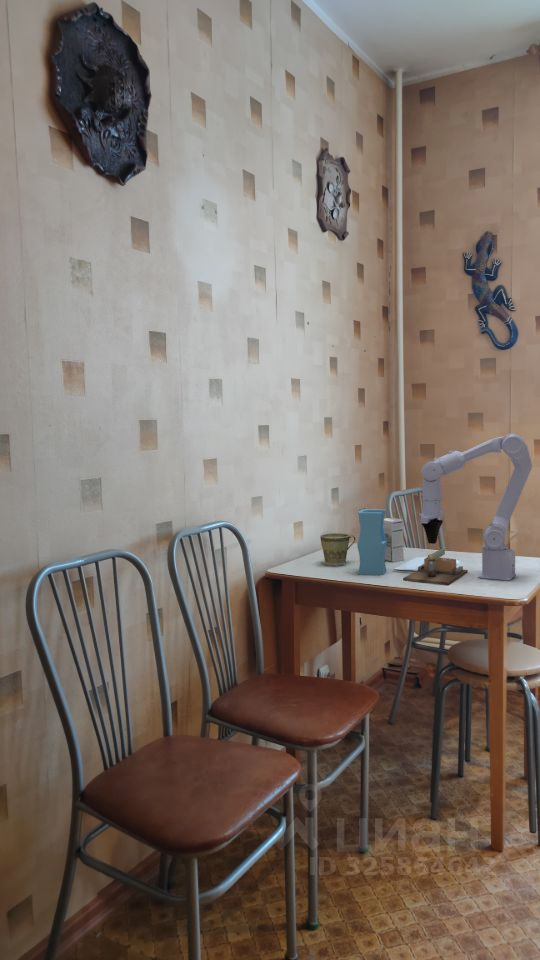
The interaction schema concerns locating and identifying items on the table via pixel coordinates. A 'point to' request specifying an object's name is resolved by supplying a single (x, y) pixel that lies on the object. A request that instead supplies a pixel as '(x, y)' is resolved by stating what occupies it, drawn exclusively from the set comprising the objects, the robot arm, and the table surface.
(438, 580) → the keeper board
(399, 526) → the syrup box
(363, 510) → the vase
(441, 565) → the brown rectangular block
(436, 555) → the keeper bar
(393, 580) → the table surface
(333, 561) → the ceramic cup
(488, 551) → the robot arm
